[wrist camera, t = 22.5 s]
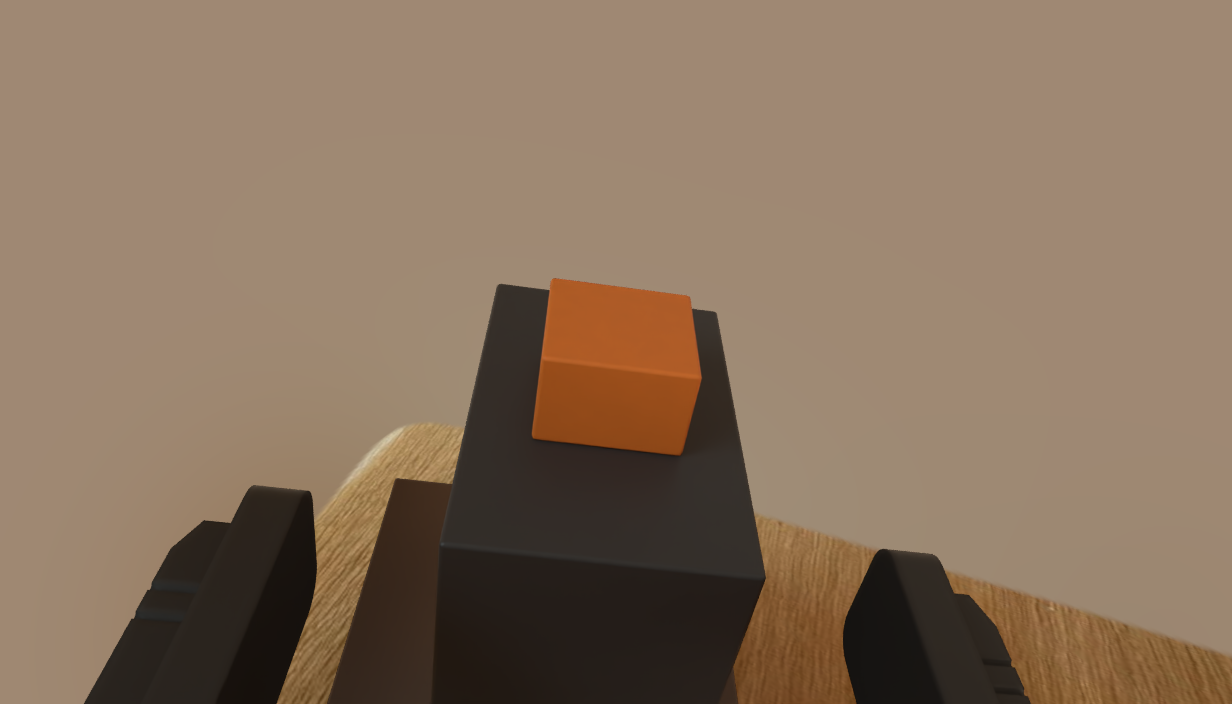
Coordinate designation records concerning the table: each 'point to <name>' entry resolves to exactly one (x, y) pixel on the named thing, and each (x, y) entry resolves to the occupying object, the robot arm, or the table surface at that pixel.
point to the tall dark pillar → (596, 508)
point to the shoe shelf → (403, 606)
